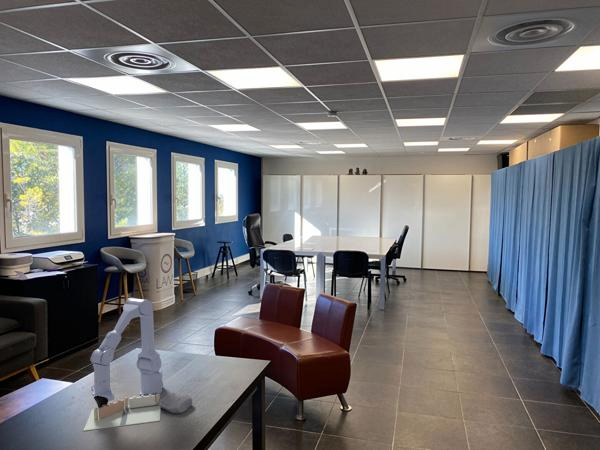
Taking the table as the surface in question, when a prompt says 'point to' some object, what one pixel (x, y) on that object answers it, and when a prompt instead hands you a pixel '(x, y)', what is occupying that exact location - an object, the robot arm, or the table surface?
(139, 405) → the fence fixed
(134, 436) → the table surface
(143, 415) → the card
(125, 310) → the robot arm
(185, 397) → the stone block
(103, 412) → the fence panel
